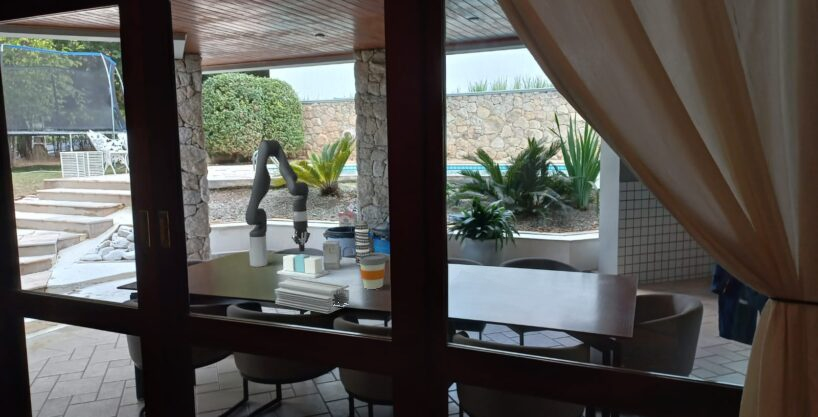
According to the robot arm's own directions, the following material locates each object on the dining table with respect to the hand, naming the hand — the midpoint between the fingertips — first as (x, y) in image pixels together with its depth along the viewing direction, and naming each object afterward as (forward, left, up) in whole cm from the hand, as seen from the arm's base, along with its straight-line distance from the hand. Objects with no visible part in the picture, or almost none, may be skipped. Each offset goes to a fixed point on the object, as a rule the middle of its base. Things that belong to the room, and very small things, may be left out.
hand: (301, 251), depth 303 cm
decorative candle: (+16, +34, -13) cm, 40 cm away
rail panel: (0, 0, -12) cm, 12 cm away
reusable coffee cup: (+51, -8, -13) cm, 53 cm away
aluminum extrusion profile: (+42, -43, -13) cm, 62 cm away
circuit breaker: (+6, +19, -13) cm, 23 cm away
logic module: (0, 0, -11) cm, 11 cm away
